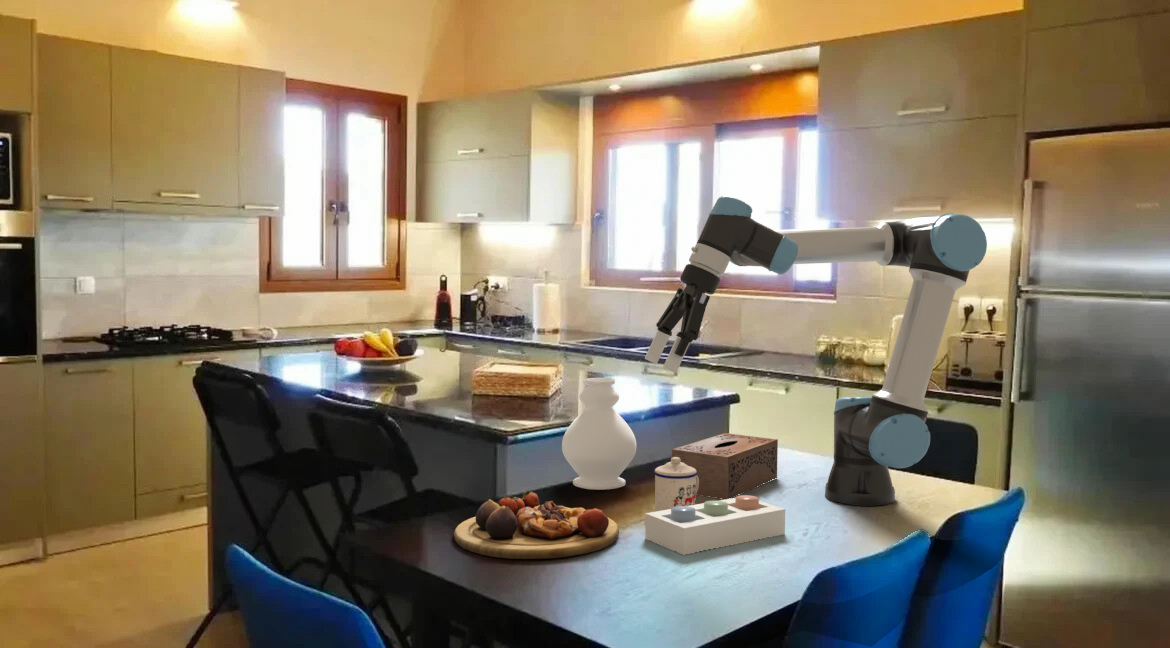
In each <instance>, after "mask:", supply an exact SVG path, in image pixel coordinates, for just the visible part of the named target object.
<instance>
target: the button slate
mask: <svg viewBox="0 0 1170 648" xmlns="http://www.w3.org/2000/svg"><path fill="white" fill-rule="evenodd" d="M695 511H696V510H695V508H692V507H687V506H677V507H673V508H671V520H674V521H676V522H679V523H684V522H689V521H695Z"/></svg>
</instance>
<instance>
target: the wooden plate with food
mask: <svg viewBox="0 0 1170 648" xmlns="http://www.w3.org/2000/svg"><path fill="white" fill-rule="evenodd" d="M475 513H476V514H475V516H474V517H470V518H468V519H466V520H464V521H462V522H461V523H459V524H458V525H457V526H456V528H455V529H454V532H453V538H454V541H455V542H456V544H457V545H458V546H459V547H461V548H462V549H464V550H465V551H468V552H471V553H475V554H477V555H478V554H479V555H483V556H488V557H494V558H500V559H514V560H543V559H545V560H547V559H560V558H567V557H568V558H569V557H573V556H580V555H584V554H589V553H593V552H596V551H599V550H602V549H604V548H606V547H608V546H610V545H612V544H613V543H614V542H615V541H616V540H617V539H618V537H619V535H620V528H619V525H618V523H617V522H616V521H614V520H613V519H612V518H609V517H608V516H607V515H606V514H605V513H604V511H603V510H602V509H598V508H593V507H592V508H591V509H589V508H587V509H585V508H584V507H572V508H571V507H567V506H564V505H558V504H556V503H554V500H547V501H546V500H545V502H544V503H543V504H540V498H539V495H538V494H537V493H535V492H533V491H530V490H527V491H525V492H523V493H521V494H520V497H518V496H513V495H511V496H506V495H504V496H503V497H502V498H501V499H499V500H498V501H497V502H496V501H494V500H492V499H490V498H489V499H488V500H487V501H485V502H483V503H482V504H481V505H480V506H479V508H478V510H477V511H476V512H475Z"/></svg>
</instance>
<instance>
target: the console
mask: <svg viewBox="0 0 1170 648" xmlns="http://www.w3.org/2000/svg"><path fill="white" fill-rule="evenodd" d="M718 501H723V502H726V503H728V514H727V515H722V516H716V517H713V516H710V515H707V514H704V502H703V503H698V504H697V503H696V505H691V506H687V507H692V508H695V510H696V511H695V521H689V522H684V523H679V522H676V521H674V520H671V509H668V510H662V511H651V512H645V514H644V515H645V517H644V518H645V519H644V521H645V523H644V524H645V525H644V530H645V531H644V532H645V533H644V534H645V535H644V537H645V538H644V540H647V541H649V540H650V541H649V542H651V541H652V542H651V543H654V544H656V543H657V545H658V544H659V545H658V546H662V547H663V548H665V549H669V550H670V551H673V552H675V551H676V552H675V553H678V554H680V555H682V556H687V555H690V553H692V554H696V553H695V552H697V553H700V552H699V551H702V552H704V551H703V550H706V551H709V550H708V549H711V550H714V549H713V548H716V549H719V547H721V548H725V546H726V547H730V546H729V545H731V546H735V545H740V544H745V543H749V541H750V542H754V540H755V541H758V539H760V540H763V539H762V538H764V539H768V538H767V537H769V538H774V537H779V536H783V535H786V530H785V529H786V508H783V507H779V506H777V505H773V504H771V503H767V502H764V501H761V500H759V509H754V510H749V511H744V510H741V509H738V508H735V497H733V498H731V499H725V500H724V499H719V500H718ZM773 536H774V537H773ZM744 542H745V543H744ZM739 543H740V544H739ZM734 544H735V545H734ZM686 554H687V555H686Z"/></svg>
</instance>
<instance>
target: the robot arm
mask: <svg viewBox="0 0 1170 648" xmlns="http://www.w3.org/2000/svg"><path fill="white" fill-rule="evenodd" d="M752 213H753V208H752V206H751V205H750V204H747V203H746V202H745V201H743V200H741V199H738V198H737V197H733V196H730V195H722V196H719V197H718V198H717V200H716V201H715V204H714V206H712V209H711V210H710V212H709V214H708V217H707V219H706V222H705V224H704V226H703V228H702V231H701V233H700V236H699V237H698V240H697V241H696V244H695V246H692V247H691V249H690V250H691V251H692V252H691V255H690V256H689V258H688V261H689V263H688V264H685V267H684V269H683V270H682V273H681V275H680V276H679V280H680V281H681V283H683V284H685V287H684V289H683V288H682V287H679V288H677V290H676V293H675V294H674V296H673V298H672V300H671V301H670V303H669V304H668V306H667V307H666V309H665V311H663V313H662V315H661V316H660V318H659V319H658V320H657V322H656V325H655V326H656V327H657V331H656V333H655V335H654V337H653V339H652V341H651V343H650V345H649V348H648V349H647V352H646V354H645V357H644V359H645V360H647V361H648V362H650V363H653V364H655V365H658V362H659V360H660V358H661V356H662V353H663V351H664V349H665V347H666V345H667V343H668V342H669V339H670V337H672V336H673V335H672V334H673V330H674V328H675V327H676V326H677V324H678V323H679V322H680V320H681V325H680V326H681V327H680V331H678V332H677V333H676V334H675V335H676V337H675V340H674V343H673V344H672V347H671V349H670V351H669V354H668V356H667V357H666V359H665V362H664V364H663V366H662V368H664V369H666V370H667V371H670V372H673V373H674V374H677V372H678V370H679V368H680V366H681V364H682V361H683V359H684V357H685V354H686V353H687V350H688V349H689V347H690V344H691V343H692V342H693V341H697V339H698V338H699V334H700V329H701V327H702V322H703V320H704V315H705V313H706V308H707V305H708V303H709V301H710V299H711V298H710V295H711V296H712V295H715V293H716V291H717V288H718V287H719V286H718V285H719V284H720V282H721V279H720V277H722V276H724V274H725V271H726V270H727V268H728V265H729V264H730V263H731V264H734V265H736V266H738V267H762V268H765V269H767V270H768V271H769V272H773V273H775V274H777V275H784V274H786V273H787V272H788V271H789V270H790V269H791V267H793V266H794V265H803V264H805V265H808V264H839V263H840V264H841V263H863V262H865V263H866V262H867V263H868V262H869V263H871V262H872V263H873V262H876V263H878V265H880V266H885V267H886V266H896V267H897V266H898V267H906V268H908V272H909V273H910V276H911V277H912V280H913V282H912V284H911V289H910V292H909V295H908V298H907V302H906V305H905V309H904V313H903V315H902V319H901V323H900V325H899V330H898V332H897V333H898V334H897V336H896V340H895V343H894V346H893V350H892V354H891V358H890V360H889V364H888V368H887V371H886V374H885V377H884V381H883V385H882V388H881V389H879V390H877V391H875V392H874V393H873V394H872V396H842V397H838V398H836V400H835V402H834V411H833V415H834V418H833V420H834V421H833V423H834V424H833V464H832V466H831V469H830V472H829V475H828V479H827V482H826V483H825V487H824V488H825V490H824V492H825V493H824V496H825V498H826V499H828V500H830V501H833V502H837V503H840V504H846V505H851V506H863V507H864V506H865V507H867V506H869V507H873V506H874V507H875V506H884V505H889V504H892V503H894V502H895V499H896V498H895V497H896V490H895V487H894V486H893V483H892V478H891V474H890V471H889V470H890V469H889V468H894V469H906V468H909V467H912V466H914V465H915V464H917V463H918V462H920V461H921V460H922V459H923V458H924V457H925V455H926V454H927V452H928V449H929V447H930V444H931V432H930V431H929V428H928V425H927V424H926V421H927V417H928V414H929V408H928V407H927V405H926V403H925V401H924V399H925V398H926V397H925V396H926V393H927V389H928V386H929V383H930V380H931V375H932V373H933V369H934V365H935V362H936V360H937V355H938V353H939V350H940V349H939V348H940V345H941V342H942V337H943V335H944V332H945V327H946V324H947V321H948V318H949V315H950V311H951V307H952V304H953V300H954V298H955V293H956V291H957V290H959V289H960V288H962V287H964V286H966V283H967V280H968V277H969V274H970V271H971V270H972V269H974V268H976V267H977V266H979V264H981V263H982V261H983V260H984V258H985V256H986V253H987V248H988V247H987V245H988V241H987V236H986V233H985V230H984V229H983V227H982V226H981V224H980V223H979V222H978V221H977V220H976V219H974V218H973V217H971V216H969V215H965V214H960V213H952V212H949V213H948V212H947V213H944V214H936V215H933V214H932V215H923V216H918V217H912V218H908V219H903V220H897V221H887V222H886V221H885V222H884V221H883V222H879V223H878V224H877V225H876V226H870V227H867V226H865V227H842V228H841V227H840V228H839V227H837V228H834V227H833V228H808V229H807V228H805V229H775V230H774V229H772V228H769V227H768V226H765V225H764V224H761V223H759V222H758V221H755V220H754V219H753V218H751V217H752Z"/></svg>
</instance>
